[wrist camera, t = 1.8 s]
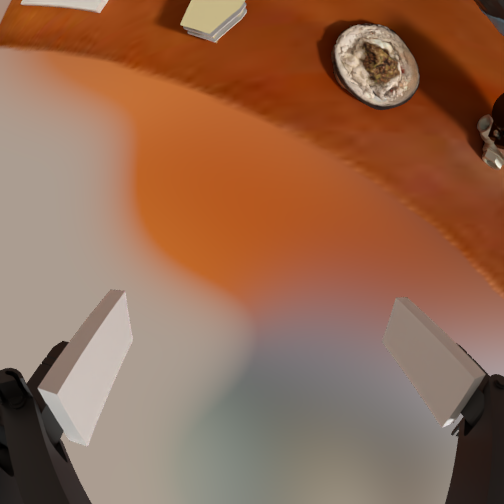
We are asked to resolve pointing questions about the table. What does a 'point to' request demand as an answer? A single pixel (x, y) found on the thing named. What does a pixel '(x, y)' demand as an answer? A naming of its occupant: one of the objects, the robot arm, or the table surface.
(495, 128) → the ball valve
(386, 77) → the white shallow bowl
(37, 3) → the pipe rig
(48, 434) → the robot arm
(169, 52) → the table surface
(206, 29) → the beige layered block
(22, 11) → the table surface
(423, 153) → the table surface
